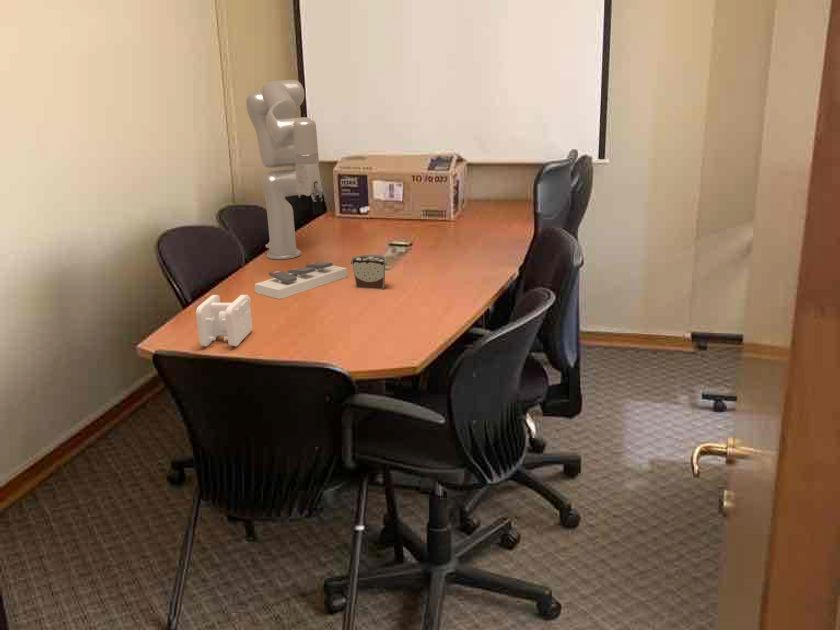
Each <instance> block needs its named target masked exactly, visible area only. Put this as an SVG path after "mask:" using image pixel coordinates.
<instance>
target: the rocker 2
mask: <svg viewBox="0 0 840 630" xmlns="http://www.w3.org/2000/svg"><path fill="white" fill-rule="evenodd" d="M314 271H315V268H306V267H294V268H291V269H288V270H287V274H289V273H293V274H307V273H310V272H314Z"/></svg>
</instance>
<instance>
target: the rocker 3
mask: <svg viewBox="0 0 840 630" xmlns="http://www.w3.org/2000/svg"><path fill="white" fill-rule="evenodd" d="M333 265H334V264H333V262H320V261H319V262H312V263H308V264H306V265H305V268H326V267H330V266H333Z"/></svg>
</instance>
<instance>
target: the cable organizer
mask: <svg viewBox="0 0 840 630" xmlns="http://www.w3.org/2000/svg"><path fill="white" fill-rule="evenodd" d="M251 302H252V300H251V297H250V296H249V295H248V294H240V295H239V296H238V297H237V298H236V299H235V300H233V302H221V297H220V295H219V294H212V295H210V296H209V297H208V298H207V299H205V300H204V301H203V302H202V303H200V304H199V305H198V306H197V308H196V311H195V316H196V317H195V318H196V325H197V332H198V341H199V344H200V346H204V347H205V348H207V347H209V345H211V344H212V342H213V341H216V340H217V339H216V338H218V337H220V336H222V337H223V341H224V342H226V341H227V342H228V345H229V346H230V347H231V346H233V347H239V345H240V344H241V342H242V341H243V340H244V339H246V337H247V336H249V334H251V331H252V329H253V319H252V309H251Z"/></svg>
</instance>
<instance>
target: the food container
mask: <svg viewBox="0 0 840 630" xmlns="http://www.w3.org/2000/svg"><path fill="white" fill-rule="evenodd" d="M350 265H352V269H353V270H352V271H353V277H354V280H355V281H354V283H355V288H356V289H365V290H381V291H383V290H385V283H386V282H385V277H386V274H385V273H386V267H387V266H388V261H387V258H386V256H384V255H381V254H371V253H370V254H361V255H356V256H353V257H352V258H351V259H350Z"/></svg>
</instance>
